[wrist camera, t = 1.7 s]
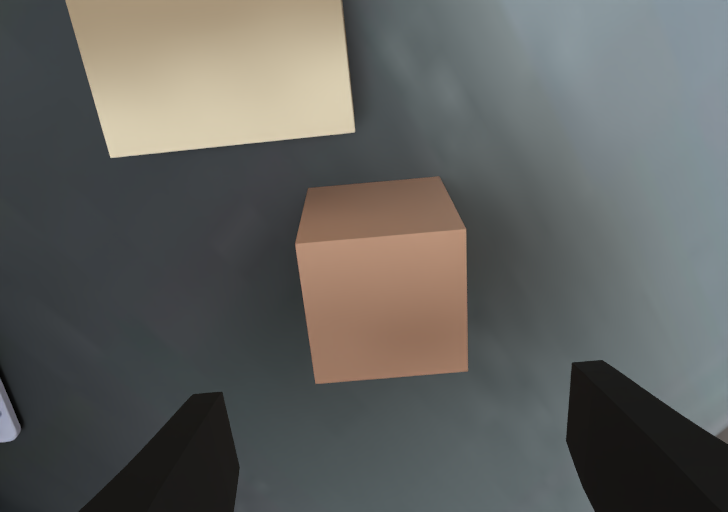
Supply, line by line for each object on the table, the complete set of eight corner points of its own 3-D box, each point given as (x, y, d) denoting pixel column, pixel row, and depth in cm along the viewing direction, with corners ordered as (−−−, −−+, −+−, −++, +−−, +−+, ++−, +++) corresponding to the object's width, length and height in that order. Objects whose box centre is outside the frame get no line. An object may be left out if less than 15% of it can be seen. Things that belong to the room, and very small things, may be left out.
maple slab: (354, 113, 19) (354, 132, 16) (145, 135, 19) (110, 158, 16) (328, -139, 16) (323, -169, 13) (82, -111, 16) (27, -135, 13)
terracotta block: (442, 292, 21) (468, 371, 17) (323, 302, 21) (315, 383, 17) (439, 175, 19) (466, 229, 15) (308, 187, 19) (295, 243, 15)
